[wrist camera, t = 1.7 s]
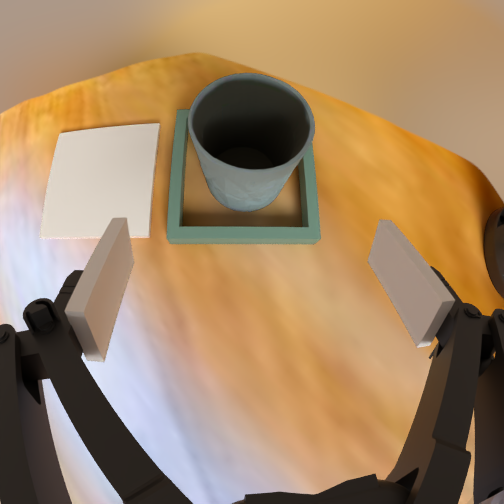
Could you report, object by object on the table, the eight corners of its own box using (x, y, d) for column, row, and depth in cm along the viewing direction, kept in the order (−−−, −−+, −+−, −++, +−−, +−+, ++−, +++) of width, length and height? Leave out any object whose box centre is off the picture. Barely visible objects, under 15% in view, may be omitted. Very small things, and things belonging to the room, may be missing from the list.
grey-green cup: (301, 203, 35) (335, 152, 24) (215, 233, 34) (211, 190, 22) (266, 129, 37) (283, 63, 25) (186, 153, 35) (173, 88, 23)
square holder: (303, 124, 37) (308, 113, 35) (314, 244, 34) (320, 238, 32) (179, 121, 36) (177, 109, 34) (170, 244, 33) (166, 238, 31)
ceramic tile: (160, 126, 36) (159, 123, 35) (150, 237, 33) (148, 235, 32) (62, 136, 34) (59, 133, 34) (42, 239, 32) (39, 237, 31)
